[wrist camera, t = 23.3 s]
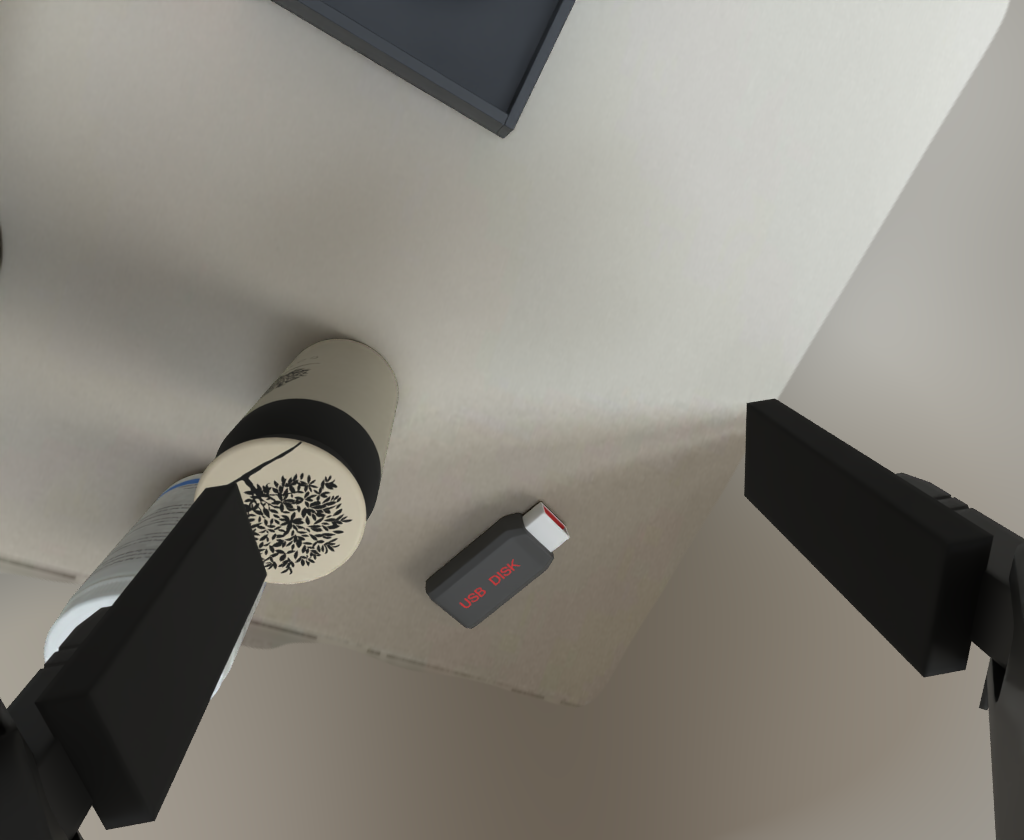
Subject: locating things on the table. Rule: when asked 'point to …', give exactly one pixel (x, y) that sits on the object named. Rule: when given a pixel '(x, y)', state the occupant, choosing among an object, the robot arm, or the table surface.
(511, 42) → the tray
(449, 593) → the usb drive
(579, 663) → the table surface
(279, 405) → the travel mug
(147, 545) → the supplement tub
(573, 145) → the table surface
